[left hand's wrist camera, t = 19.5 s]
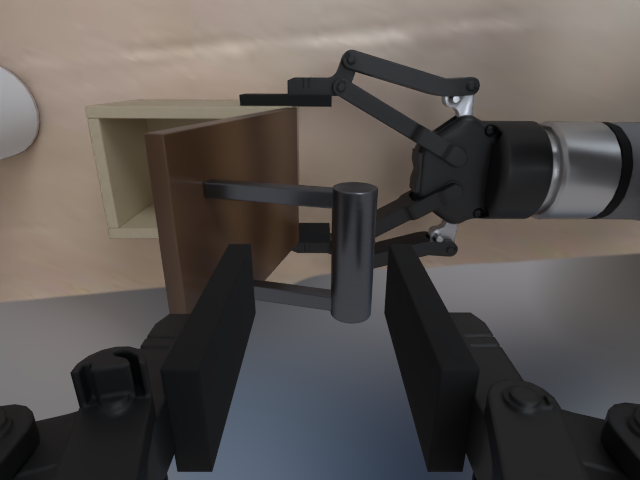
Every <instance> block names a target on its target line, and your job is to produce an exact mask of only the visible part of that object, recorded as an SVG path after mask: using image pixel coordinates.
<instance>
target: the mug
mask: <svg viewBox="0 0 640 480" xmlns="http://www.w3.org/2000/svg"><path fill="white" fill-rule="evenodd" d="M39 124H40V120H39V111H38V108H37V105H36V102H35V99H34V97H33V96H32V94H31V93H30V91H29V89H28V88H27V87H26V86H25V85H24V83H23V82H22V81H21V80H20V79H19V78H18V77H17V76H15V75H14V74H13V73H11V72H10V71H8V70H7V69H5V68H3V67H1V66H0V160H1V159H4V158H7V157H10V156H13V155H16V154H19V153H21V152H23V151H25V150H26V149H27V148H28V147H29V146H31V145H32V144H33V142H34V140H35V138H36V136H37V134H38V129H39Z"/></svg>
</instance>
